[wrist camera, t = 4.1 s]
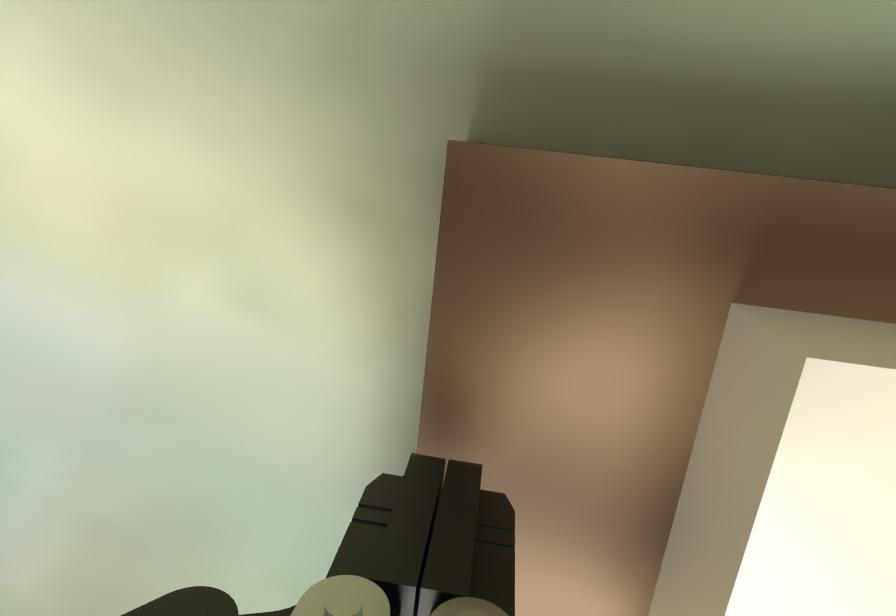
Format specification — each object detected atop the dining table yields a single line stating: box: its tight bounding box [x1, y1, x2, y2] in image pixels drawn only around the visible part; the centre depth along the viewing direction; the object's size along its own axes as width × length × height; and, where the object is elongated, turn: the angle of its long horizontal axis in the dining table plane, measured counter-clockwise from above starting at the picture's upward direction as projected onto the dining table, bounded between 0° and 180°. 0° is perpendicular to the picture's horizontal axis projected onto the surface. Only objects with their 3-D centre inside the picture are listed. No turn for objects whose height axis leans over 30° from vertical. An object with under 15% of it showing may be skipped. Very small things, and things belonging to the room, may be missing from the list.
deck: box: [417, 140, 896, 616], centre depth 14 cm, size 14×20×4 cm
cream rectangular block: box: [648, 303, 896, 616], centre depth 11 cm, size 9×6×3 cm, turn 174°
